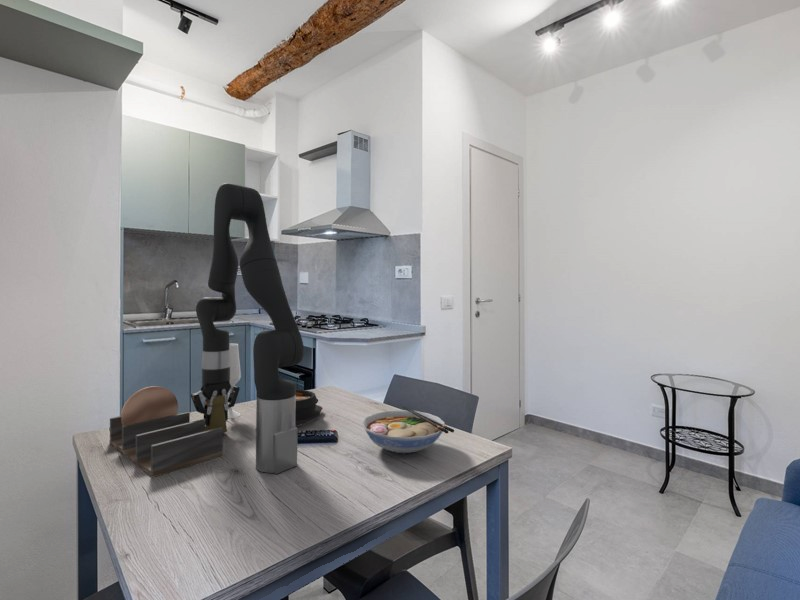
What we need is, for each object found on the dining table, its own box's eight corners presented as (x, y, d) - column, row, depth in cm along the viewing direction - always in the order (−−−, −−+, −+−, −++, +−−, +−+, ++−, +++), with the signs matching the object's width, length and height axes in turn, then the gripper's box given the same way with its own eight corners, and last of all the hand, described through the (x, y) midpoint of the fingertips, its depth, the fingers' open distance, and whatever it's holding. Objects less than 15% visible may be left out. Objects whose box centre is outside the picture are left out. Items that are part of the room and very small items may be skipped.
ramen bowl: (347, 439, 118) (348, 411, 118) (416, 428, 128) (417, 402, 128) (384, 475, 96) (385, 441, 96) (464, 459, 106) (464, 428, 106)
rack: (223, 454, 105) (223, 397, 105) (153, 477, 93) (153, 411, 92) (173, 427, 124) (173, 379, 124) (109, 443, 111) (109, 388, 111)
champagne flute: (240, 411, 142) (241, 342, 141) (240, 417, 135) (241, 345, 135) (219, 413, 139) (219, 343, 138) (218, 419, 133) (219, 346, 132)
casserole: (289, 406, 149) (290, 383, 148) (335, 413, 143) (335, 389, 142) (242, 428, 125) (242, 401, 125) (294, 437, 119) (294, 408, 119)
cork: (221, 435, 116) (221, 397, 116) (200, 435, 116) (200, 396, 116) (230, 428, 122) (230, 392, 122) (210, 428, 122) (210, 391, 122)
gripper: (197, 371, 111) (197, 433, 111) (245, 364, 122) (245, 421, 122) (185, 367, 115) (184, 427, 116) (232, 361, 126) (232, 416, 127)
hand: (216, 424), depth 119 cm, fingers closed on cork, 3 cm apart
